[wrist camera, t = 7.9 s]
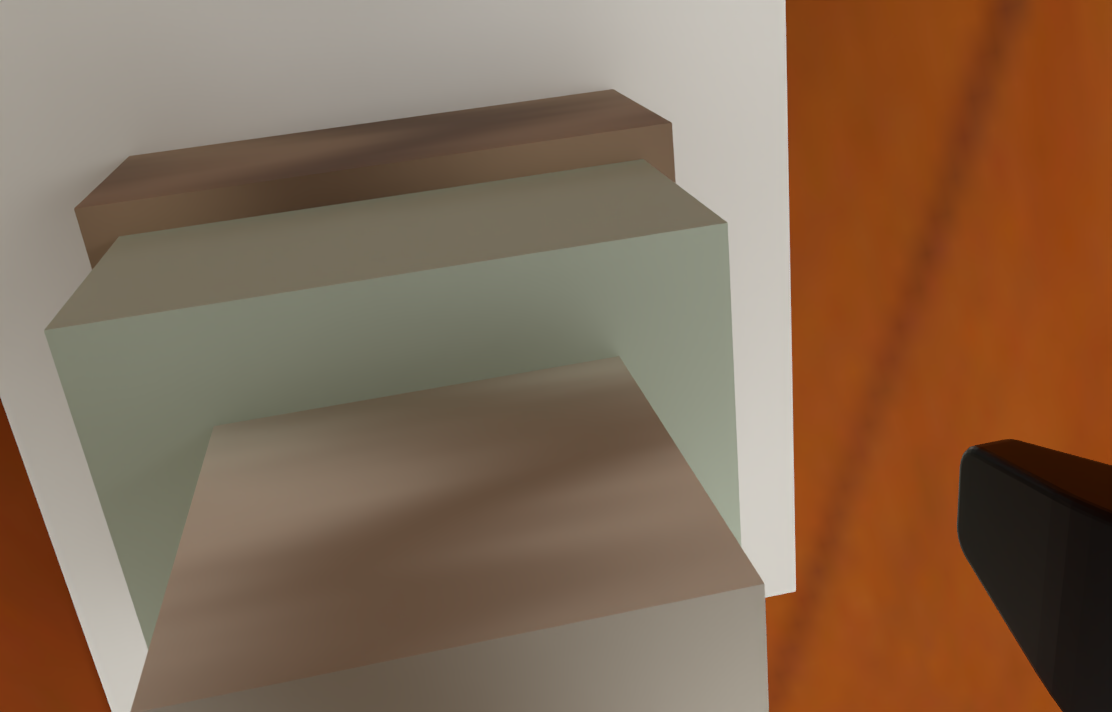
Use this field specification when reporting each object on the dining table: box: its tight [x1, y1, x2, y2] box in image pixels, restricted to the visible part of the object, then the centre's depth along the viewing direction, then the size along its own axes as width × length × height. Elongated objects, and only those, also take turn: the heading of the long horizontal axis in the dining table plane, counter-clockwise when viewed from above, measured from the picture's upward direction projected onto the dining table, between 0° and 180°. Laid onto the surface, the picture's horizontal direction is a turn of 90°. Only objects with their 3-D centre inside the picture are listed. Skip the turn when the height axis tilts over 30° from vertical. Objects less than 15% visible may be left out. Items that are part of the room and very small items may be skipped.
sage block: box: [44, 159, 741, 650], centre depth 15 cm, size 8×8×4 cm
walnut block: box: [74, 89, 676, 270], centre depth 19 cm, size 9×9×4 cm
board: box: [0, 0, 796, 712], centre depth 21 cm, size 16×16×1 cm
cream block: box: [130, 356, 769, 712], centre depth 11 cm, size 5×5×5 cm
